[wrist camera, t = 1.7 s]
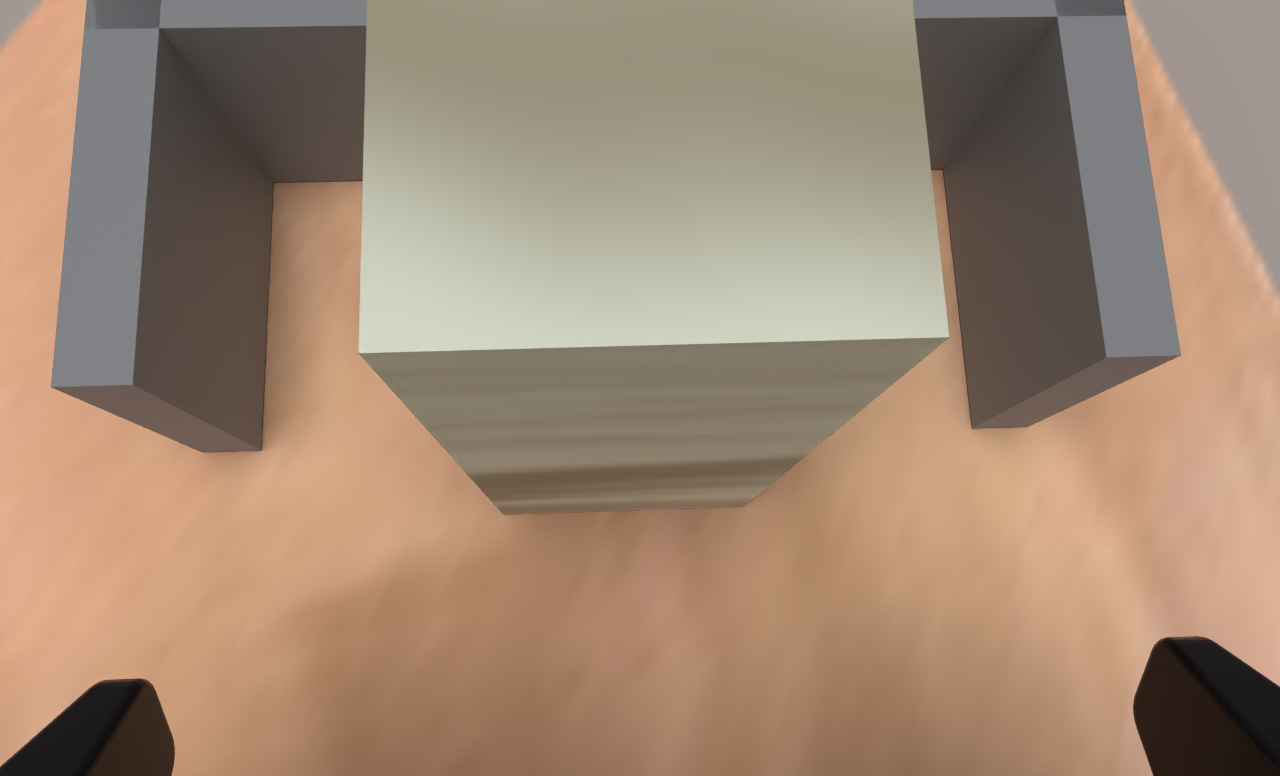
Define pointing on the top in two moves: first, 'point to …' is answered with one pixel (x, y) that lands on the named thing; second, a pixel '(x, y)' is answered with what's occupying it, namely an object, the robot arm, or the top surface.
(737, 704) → the top surface
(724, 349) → the sage block
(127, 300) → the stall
